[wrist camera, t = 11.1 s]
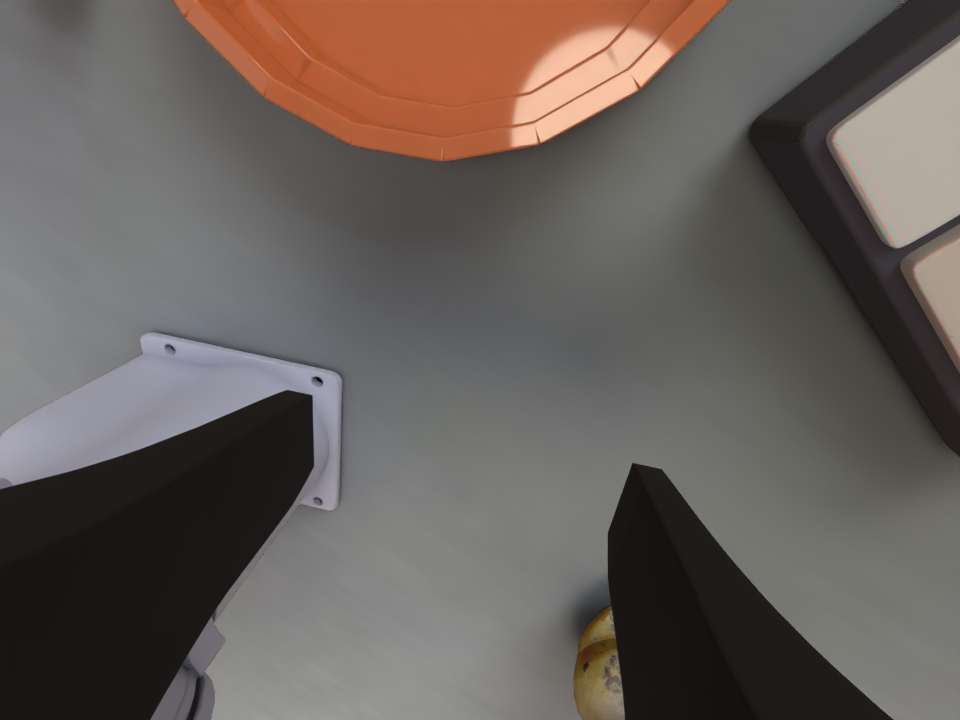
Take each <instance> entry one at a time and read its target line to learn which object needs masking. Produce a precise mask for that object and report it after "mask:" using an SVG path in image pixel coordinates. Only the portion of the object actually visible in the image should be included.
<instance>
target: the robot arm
mask: <svg viewBox="0 0 960 720" xmlns="http://www.w3.org/2000/svg"><path fill="white" fill-rule="evenodd" d="M140 344H141V349H142V355H141V356H139V357H137V358H135V359H133V360H131V361H129V362H127V363H125V364H123V365H122V366H120V367H118V368H116V369H114V370H112V371H110V372H108V373H106V374H105V375H103V376H101V377H99V378H97V379H95V380H93V381H91V382H89V383H87V384H86V385H84V386H82V387H80V388H78V389H76V390H74V391H72V392H70V393H69V394H67V395H65V396H63V397H61V398H59V399H57V400H55V401H53V402H51V403H50V404H48V405H46V406H44V407H42V408H40V409H38V410H36V411H34V412H33V413H31V414H29V415H27V416H25V417H24V418H22V419H21V420H19V421H17V422H16V423H14V424H13V425H12V426H11V427H9V428H8V429H7V430H6V431H4V432H3V433H2V434H1V435H0V720H211V718H212V713H213V708H214V703H215V690H214V686H213V683H212V680H211V679H210V678H209V676H208V675H207V674H206V673H205V671H206V669H207V668H208V666H209V665H210V663H211V662H212V660H213V659H214V657H215V656H216V654H217V653H218V651H219V650H220V648H221V647H222V645H223V644H224V642H225V638H224V637H223V636H222V635H221V634H220V632H219V631H218V630H217V628H216V626H215V624H214V622H215V621H216V620H217V618H218V617H219V615H220V614H221V613H222V611H223V610H224V609H225V607H226V606H227V604H228V603H229V602H230V600H231V599H232V597H233V596H234V595H235V593H236V592H237V590H238V589H239V588H240V586H241V585H242V583H243V582H244V581H245V579H246V578H247V576H248V575H249V574H250V572H251V571H252V570H253V568H254V567H255V565H256V564H257V563H258V561H259V560H260V558H261V557H262V556H263V554H264V553H265V551H266V550H267V549H268V547H269V546H270V544H271V543H272V542H273V540H274V539H275V537H276V536H277V535H278V533H279V532H280V530H281V529H282V528H283V526H284V525H285V524H286V522H287V521H288V519H289V518H290V517H291V515H292V514H293V512H294V511H295V510H296V508H297V507H298V505H299V504H303V505H307V506H311V507H315V508H319V509H323V510H328V511H332V510H334V509H336V507H337V506H338V504H339V499H340V455H341V410H342V380H341V378H340V376H339V375H338V374H337V373H336V372H333V371H330V370H326V369H321V368H316V367H312V366H307V365H303V364H298V363H293V362H289V361H284V360H279V359H275V358H270V357H266V356H261V355H256V354H252V353H247V352H243V351H238V350H233V349H229V348H224V347H219V346H215V345H210V344H206V343H201V342H196V341H192V340H187V339H183V338H178V337H173V336H169V335H164V334H160V333H155V332H149V333H147V334H145V335H143V336H142V337H141V338H140ZM171 345H172V346H173V347H174V349H175V350H174V349H173V348H172V346H171ZM316 377H319V378H321V380H322V382H323V383H320V382H318V381H317V379H316ZM317 497H318V498H320V499H321V500H320V499H318V498H317ZM608 581H609V590H610V598H611V606H612V614H613V622H614V629H615V637H616V645H617V652H618V660H619V667H620V675H621V683H622V691H623V702H624V713H625V720H893V719H892V718H891V717H890V716H888V715H887V714H886V713H885V712H884V711H883V710H881V709H880V708H879V707H878V706H877V705H876V704H875V703H873V702H872V701H871V700H870V699H869V698H868V697H867V696H866V695H865V694H863V693H862V692H861V691H860V690H859V689H858V688H857V687H856V686H854V685H853V684H852V683H851V682H850V681H849V680H848V679H847V678H846V677H844V676H843V675H842V674H841V673H840V672H839V671H838V670H837V669H836V668H834V667H833V666H832V665H831V664H830V663H829V662H828V661H827V660H826V659H825V658H824V657H823V656H822V655H821V654H820V653H819V652H818V651H816V650H815V649H814V648H813V647H812V646H811V645H810V644H809V643H808V642H807V641H806V640H805V639H804V638H803V637H802V636H801V635H800V634H799V633H798V632H797V631H796V630H795V629H794V628H793V626H792V625H791V624H790V623H789V622H788V621H787V620H786V619H785V618H784V617H783V616H782V615H781V614H780V613H779V612H778V611H777V610H776V609H775V608H774V607H773V606H772V605H771V604H770V603H769V602H768V601H767V600H766V598H765V597H764V596H763V595H762V594H761V593H760V592H759V591H758V590H757V588H756V587H755V586H754V585H753V584H752V583H751V582H750V580H749V579H748V578H747V577H746V576H745V575H744V574H743V572H742V571H741V570H740V569H739V568H738V567H737V566H736V564H735V563H734V562H733V561H732V560H731V558H730V557H729V556H728V555H727V554H726V552H725V551H724V550H723V549H722V547H721V546H720V545H719V544H718V542H717V541H716V540H715V539H714V537H713V536H712V535H711V534H710V532H709V531H708V530H707V528H706V527H705V526H704V525H703V523H702V522H701V521H700V519H699V518H698V517H697V515H696V514H695V513H694V511H693V510H692V509H691V507H690V506H689V505H688V503H687V502H686V501H685V499H684V498H683V497H682V495H681V494H680V493H679V491H678V490H677V489H676V487H675V486H674V485H673V483H672V482H671V481H670V479H669V478H668V477H667V475H666V474H665V473H664V472H663V470H662V469H658V468H653V467H649V466H644V465H639V464H635V463H632V466H631V469H630V472H629V475H628V477H627V480H626V483H625V486H624V489H623V492H622V494H621V497H620V500H619V503H618V506H617V509H616V511H615V514H614V517H613V520H612V523H611V526H610V528H609V531H608Z"/></svg>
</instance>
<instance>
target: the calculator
mask: <svg viewBox="0 0 960 720" xmlns="http://www.w3.org/2000/svg"><path fill="white" fill-rule="evenodd" d="M750 133H751V139H752V141H753V143H754V144H755V146H756V148H757V149H758V151H759V153H760V154H761V156H762V158H763V159H764V161H765V162H766V164H767V166H768V167H769V169H770V170H771V172H772V174H773V175H774V177H775V178H776V180H777V182H778V183H779V185H780V186H781V188H782V190H783V191H784V193H785V194H786V196H787V198H788V199H789V201H790V202H791V204H792V206H793V207H794V209H795V210H796V212H797V214H798V215H799V217H800V218H801V220H802V221H803V223H804V224H805V225H806V226H807V227H808V229H809V230H810V231H811V232H812V233H813V235H814V236H815V237H816V238H817V239H818V240H819V242H820V243H821V244H822V245H823V246H824V248H825V249H826V250H827V252H828V254H829V255H830V257H831V258H832V260H833V262H834V263H835V265H836V266H837V268H838V270H839V271H840V273H841V275H842V276H843V278H844V279H845V281H846V283H847V284H848V286H849V287H850V289H851V291H852V292H853V294H854V296H855V297H856V299H857V300H858V302H859V304H860V305H861V307H862V308H863V310H864V312H865V313H866V315H867V317H868V318H869V320H870V321H871V323H872V325H873V326H874V328H875V329H876V331H877V333H878V334H879V336H880V338H881V339H882V341H883V342H884V344H885V346H886V347H887V349H888V350H889V352H890V354H891V355H892V357H893V359H894V360H895V362H896V363H897V365H898V367H899V368H900V370H901V371H902V373H903V375H904V376H905V378H906V380H907V381H908V383H909V384H910V386H911V388H912V389H913V391H914V392H915V394H916V396H917V397H918V399H919V401H920V402H921V404H922V405H923V407H924V409H925V410H926V412H927V413H928V415H929V417H930V418H931V420H932V421H933V423H934V425H935V426H936V428H937V430H938V431H939V433H940V434H941V436H942V438H943V439H944V441H945V442H946V444H947V445H948V447H949V448H950V449H951V450H952V451H954V452H955V453H956V454H957V455H958V456H959V457H960V0H909V1H908V2H906V3H905V4H904V5H903V6H901V7H900V8H899V9H897V10H896V11H895V12H894V13H892V14H891V15H890V16H888V17H887V18H886V19H884V20H883V21H882V22H881V23H879V24H878V25H877V26H875V27H874V28H873V29H872V30H870V31H869V32H868V33H866V34H865V35H864V36H863V37H861V38H860V39H859V40H857V41H856V42H855V43H854V44H852V45H851V46H850V47H848V48H847V49H846V50H844V51H843V52H842V53H841V54H839V55H838V56H837V57H835V58H834V59H833V60H832V61H830V62H829V63H828V64H826V65H825V66H824V67H823V68H821V69H820V70H819V71H817V72H816V73H815V74H813V75H812V76H811V77H810V78H808V79H807V80H806V81H804V82H803V83H802V84H801V85H799V86H798V87H797V88H795V89H794V90H793V91H792V92H790V93H789V94H788V95H786V96H785V97H784V98H783V99H781V100H780V101H779V102H777V103H776V104H775V105H773V106H772V107H771V108H770V109H768V110H767V111H766V112H765V113H763V114H762V115H761V116H760V117H758V118H757V120H756V121H755V122H754V123H753V125H752V128H751V132H750Z"/></svg>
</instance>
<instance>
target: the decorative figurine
mask: <svg viewBox="0 0 960 720" xmlns="http://www.w3.org/2000/svg"><path fill="white" fill-rule="evenodd" d="M573 681H574V698H575V702H576V706H577V711H578V712H579V714H580V716H581V717H582V719H583V720H625V713H624V702H623V691H622V683H621V675H620V667H619V660H618V652H617V645H616V637H615V629H614V622H613V614H612V606H608V607H606V608H604V609H603V610H602V611H601V612H600V613H599V614H598V615H597V616H596V617H595V618H594V620H593V621H592V622H591V623H590V624H589V625H588V626H587V628H586V629H585V631H584V633H583V634H582V636H581V639H580V642H579V644H578V654H577V660H576V665H575V671H574V678H573Z"/></svg>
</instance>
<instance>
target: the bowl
mask: <svg viewBox="0 0 960 720" xmlns="http://www.w3.org/2000/svg"><path fill="white" fill-rule="evenodd" d="M173 1H174V2H175V4H176V6H177V7H178V9H179V10H180V12H181V14H182V15H183V16H184V17H185V19H186V20H187V21H188V22H189V23H190V24H191V25H192V26H193V27H194V28H195V29H196V30H197V31H198V32H199V33H200V34H201V35H202V36H203V37H204V38H205V39H206V40H207V41H208V42H209V43H210V44H211V45H212V46H213V47H214V48H215V49H216V50H217V51H218V52H219V53H220V54H221V55H222V56H223V57H224V58H225V59H226V60H227V61H228V62H229V63H230V64H231V65H232V66H233V67H234V68H235V69H236V70H237V71H238V72H239V73H240V74H241V75H242V76H243V77H244V78H245V79H246V80H247V81H248V82H249V83H250V84H251V85H252V86H253V87H254V88H255V89H256V90H257V91H258V92H259V93H260V94H261V95H262V96H263V97H265V98H266V99H267V100H269V101H270V102H272V103H274V104H276V105H278V106H279V107H281V108H283V109H285V110H287V111H289V112H290V113H292V114H294V115H296V116H298V117H299V118H301V119H303V120H305V121H307V122H309V123H310V124H312V125H314V126H316V127H318V128H319V129H321V130H323V131H325V132H327V133H329V134H330V135H332V136H334V137H336V138H338V139H339V140H341V141H343V142H345V143H347V144H349V145H352V146H354V147H360V148H365V149H371V150H377V151H382V152H388V153H394V154H399V155H405V156H411V157H416V158H422V159H428V160H433V161H439V162H443V161H445V162H448V161H453V160H459V159H465V158H471V157H476V156H482V155H488V154H494V153H499V152H505V151H511V150H517V149H522V148H528V147H534V146H538V145H540V144H544V143H546V142H547V141H549V140H551V139H553V138H555V137H557V136H558V135H560V134H562V133H564V132H566V131H568V130H569V129H571V128H573V127H575V126H577V125H579V124H580V123H582V122H584V121H586V120H588V119H590V118H591V117H593V116H595V115H597V114H599V113H601V112H602V111H604V110H606V109H608V108H610V107H612V106H613V105H615V104H617V103H619V102H621V101H623V100H625V99H626V98H628V97H630V96H632V95H634V94H636V93H637V92H638V91H639V90H641V89H643V88H644V87H645V86H646V85H647V84H648V83H649V82H650V81H651V80H652V79H653V78H654V77H655V76H656V75H657V74H658V73H659V72H660V71H661V70H662V69H663V68H664V67H665V66H666V65H667V64H668V63H669V62H670V61H671V60H672V59H673V58H674V57H675V56H676V55H677V54H678V53H679V52H680V51H681V50H682V49H683V48H684V47H685V46H686V45H687V44H688V43H689V42H690V41H691V40H692V39H693V38H694V37H695V36H696V35H697V34H698V33H699V32H700V31H701V30H702V29H703V28H704V27H705V26H706V25H707V24H708V23H709V22H710V21H711V20H712V19H713V18H714V17H715V16H716V15H717V14H718V13H719V12H720V11H721V10H722V9H723V8H724V7H725V6H726V5H727V4H728V3H729V2H730V1H731V0H173Z"/></svg>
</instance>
